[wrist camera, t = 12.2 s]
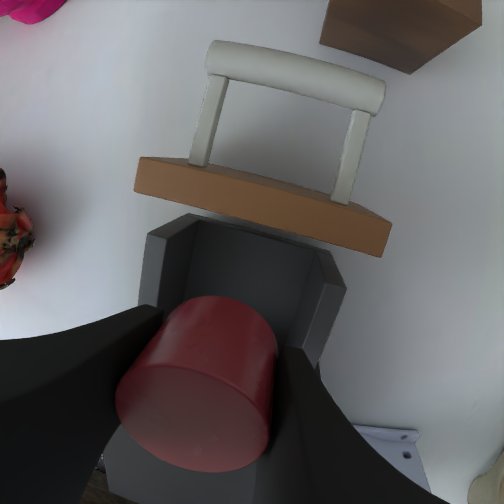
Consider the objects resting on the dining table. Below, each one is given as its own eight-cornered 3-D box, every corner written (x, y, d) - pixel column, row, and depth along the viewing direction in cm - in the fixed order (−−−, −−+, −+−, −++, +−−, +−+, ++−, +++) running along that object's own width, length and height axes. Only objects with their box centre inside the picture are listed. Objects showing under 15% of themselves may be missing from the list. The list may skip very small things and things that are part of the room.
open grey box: (156, 299, 18) (94, 365, 11) (317, 344, 18) (327, 434, 11) (144, 425, 21) (109, 491, 14) (263, 460, 21) (253, 534, 14)
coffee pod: (292, 313, 9) (292, 394, 6) (260, 403, 10) (247, 486, 7) (171, 279, 9) (112, 339, 6) (158, 373, 10) (116, 444, 7)
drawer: (211, 67, 13) (175, 25, 8) (382, 111, 13) (426, 86, 8) (155, 342, 18) (116, 397, 13) (294, 381, 17) (293, 449, 12)
